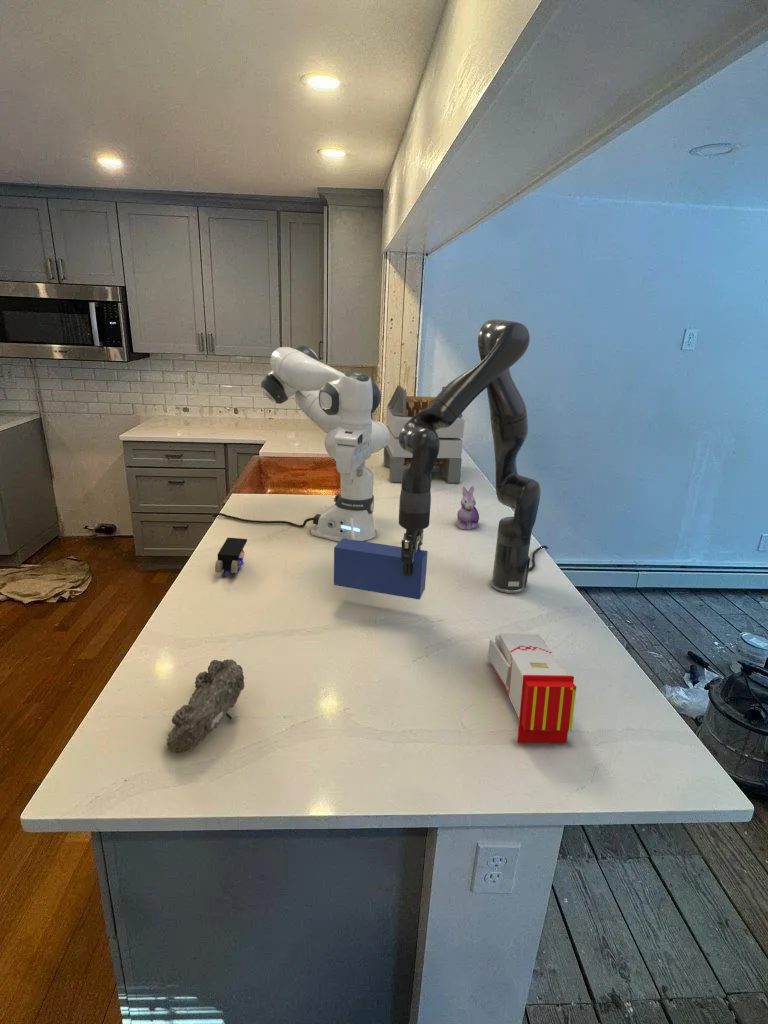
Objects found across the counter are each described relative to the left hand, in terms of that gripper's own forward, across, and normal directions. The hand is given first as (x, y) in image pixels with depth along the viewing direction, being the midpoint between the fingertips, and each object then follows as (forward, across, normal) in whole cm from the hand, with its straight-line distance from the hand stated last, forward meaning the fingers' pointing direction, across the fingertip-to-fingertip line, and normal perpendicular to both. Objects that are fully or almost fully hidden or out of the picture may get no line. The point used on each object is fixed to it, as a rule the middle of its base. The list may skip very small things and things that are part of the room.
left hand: (354, 480), depth 161 cm
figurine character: (+28, +13, -33) cm, 45 cm away
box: (+21, +20, +14) cm, 33 cm away
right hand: (+15, +20, +22) cm, 34 cm away
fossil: (+28, +70, -4) cm, 76 cm away
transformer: (+28, -113, -4) cm, 117 cm away
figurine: (+28, -51, +28) cm, 64 cm away
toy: (+28, +44, +53) cm, 74 cm away
